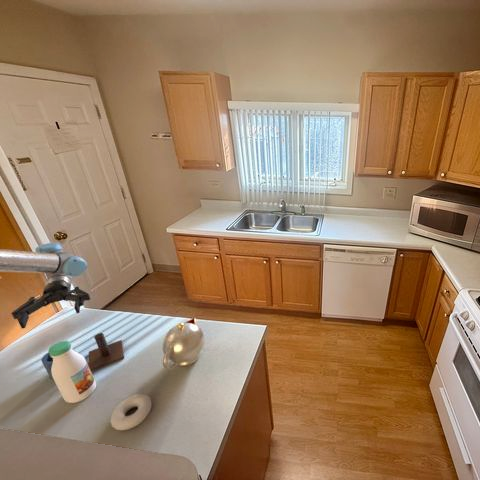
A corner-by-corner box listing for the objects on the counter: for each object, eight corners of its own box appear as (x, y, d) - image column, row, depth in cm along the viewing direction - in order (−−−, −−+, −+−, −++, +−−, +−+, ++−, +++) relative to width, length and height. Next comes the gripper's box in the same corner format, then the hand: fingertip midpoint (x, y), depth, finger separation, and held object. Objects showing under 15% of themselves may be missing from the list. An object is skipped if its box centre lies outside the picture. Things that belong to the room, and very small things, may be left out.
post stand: (88, 372, 88) (79, 351, 84) (89, 353, 95) (81, 333, 91) (124, 358, 94) (117, 338, 90) (122, 341, 101) (115, 322, 97)
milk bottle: (70, 409, 77) (45, 361, 69) (61, 395, 80) (36, 348, 72) (101, 389, 83) (81, 343, 75) (91, 377, 87) (71, 332, 79)
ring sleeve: (46, 383, 84) (36, 366, 81) (56, 365, 90) (48, 349, 87) (73, 376, 86) (65, 359, 83) (82, 360, 92) (75, 343, 89)
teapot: (183, 340, 103) (176, 307, 97) (214, 345, 102) (209, 312, 95) (150, 379, 87) (139, 343, 80) (187, 386, 86) (178, 350, 79)
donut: (122, 441, 70) (159, 410, 78) (118, 433, 69) (156, 403, 76) (106, 419, 75) (142, 392, 83) (102, 412, 73) (140, 385, 81)
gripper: (99, 286, 112) (99, 312, 97) (16, 306, 97) (1, 341, 82) (94, 271, 109) (94, 296, 94) (7, 290, 94) (-10, 323, 79)
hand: (50, 317), depth 88 cm, fingers open, 13 cm apart
